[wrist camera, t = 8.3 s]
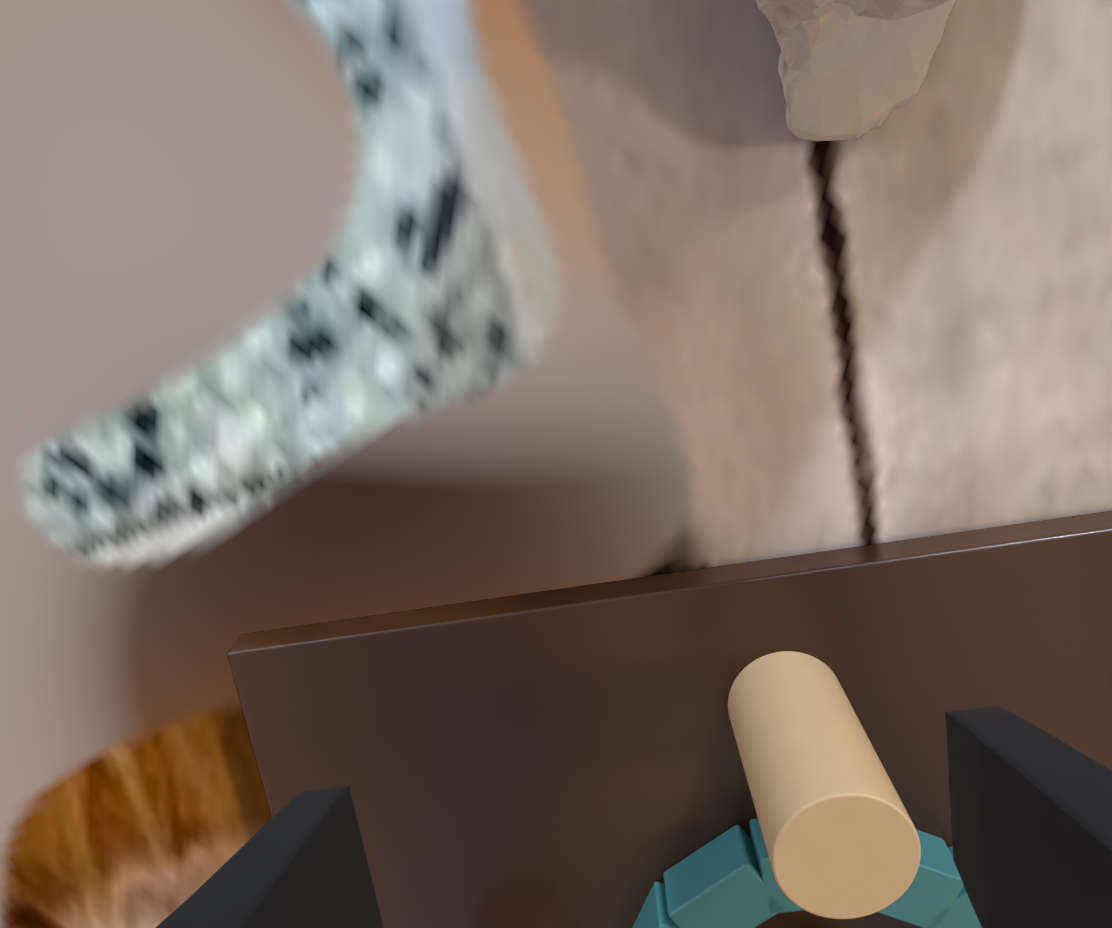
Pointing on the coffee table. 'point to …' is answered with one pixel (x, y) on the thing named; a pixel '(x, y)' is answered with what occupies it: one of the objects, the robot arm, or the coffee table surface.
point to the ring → (810, 821)
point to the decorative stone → (851, 60)
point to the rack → (660, 710)
